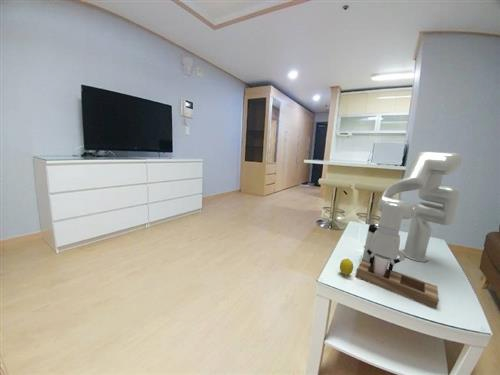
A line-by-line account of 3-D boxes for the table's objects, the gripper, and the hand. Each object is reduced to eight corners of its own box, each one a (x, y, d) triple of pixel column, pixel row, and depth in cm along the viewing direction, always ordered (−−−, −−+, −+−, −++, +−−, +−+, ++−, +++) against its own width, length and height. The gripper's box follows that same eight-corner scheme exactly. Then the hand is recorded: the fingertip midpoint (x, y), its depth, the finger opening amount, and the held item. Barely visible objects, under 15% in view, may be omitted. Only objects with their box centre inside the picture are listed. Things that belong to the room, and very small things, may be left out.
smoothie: (386, 282, 91) (393, 251, 89) (370, 276, 95) (375, 247, 92) (386, 274, 97) (393, 246, 94) (370, 269, 100) (376, 242, 97)
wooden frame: (360, 267, 105) (362, 259, 104) (434, 294, 88) (437, 286, 87) (355, 276, 97) (357, 268, 96) (436, 309, 80) (438, 299, 79)
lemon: (336, 271, 100) (339, 255, 98) (347, 271, 100) (350, 255, 99) (342, 278, 94) (345, 261, 93) (354, 278, 95) (357, 262, 93)
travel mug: (378, 265, 108) (386, 228, 104) (364, 263, 109) (371, 226, 105) (373, 259, 114) (381, 224, 110) (360, 257, 115) (367, 222, 111)
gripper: (364, 226, 94) (357, 263, 97) (412, 239, 83) (403, 280, 87) (367, 222, 100) (360, 257, 103) (413, 234, 89) (404, 272, 93)
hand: (380, 267), depth 95 cm, fingers closed on smoothie, 6 cm apart
